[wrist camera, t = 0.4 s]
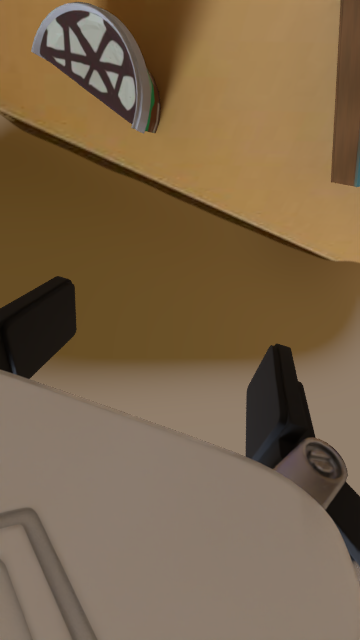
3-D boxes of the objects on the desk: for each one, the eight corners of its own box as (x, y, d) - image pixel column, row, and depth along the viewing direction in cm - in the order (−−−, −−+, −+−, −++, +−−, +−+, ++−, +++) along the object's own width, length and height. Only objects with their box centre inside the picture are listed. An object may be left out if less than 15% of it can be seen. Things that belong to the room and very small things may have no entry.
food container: (189, 85, 30) (166, 54, 21) (164, 140, 33) (136, 131, 25) (101, 14, 28) (39, -49, 20) (84, 78, 32) (26, 47, 23)
